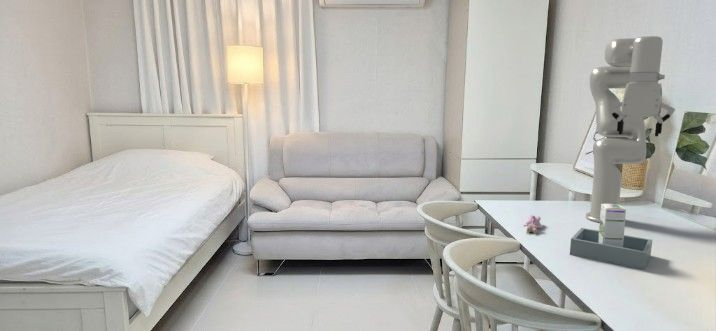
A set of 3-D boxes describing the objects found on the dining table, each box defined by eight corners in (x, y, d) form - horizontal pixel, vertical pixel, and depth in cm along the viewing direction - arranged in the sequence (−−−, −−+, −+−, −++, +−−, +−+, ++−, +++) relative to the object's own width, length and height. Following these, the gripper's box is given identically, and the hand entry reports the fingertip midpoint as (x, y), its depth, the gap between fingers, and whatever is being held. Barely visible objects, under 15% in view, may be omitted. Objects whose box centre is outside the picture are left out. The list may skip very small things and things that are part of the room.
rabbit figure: (540, 239, 162) (543, 221, 175) (541, 223, 160) (544, 206, 173) (521, 237, 165) (526, 219, 178) (522, 221, 163) (526, 205, 176)
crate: (580, 242, 155) (581, 227, 154) (650, 255, 143) (652, 239, 142) (569, 254, 144) (570, 238, 143) (644, 269, 132) (646, 252, 131)
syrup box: (622, 255, 140) (627, 208, 138) (601, 253, 142) (605, 207, 139) (617, 249, 146) (621, 204, 143) (596, 247, 147) (600, 202, 145)
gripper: (679, 78, 139) (672, 135, 142) (614, 79, 149) (609, 132, 152) (677, 78, 133) (670, 138, 136) (609, 78, 143) (604, 134, 146)
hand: (638, 135), depth 144 cm, fingers open, 9 cm apart
